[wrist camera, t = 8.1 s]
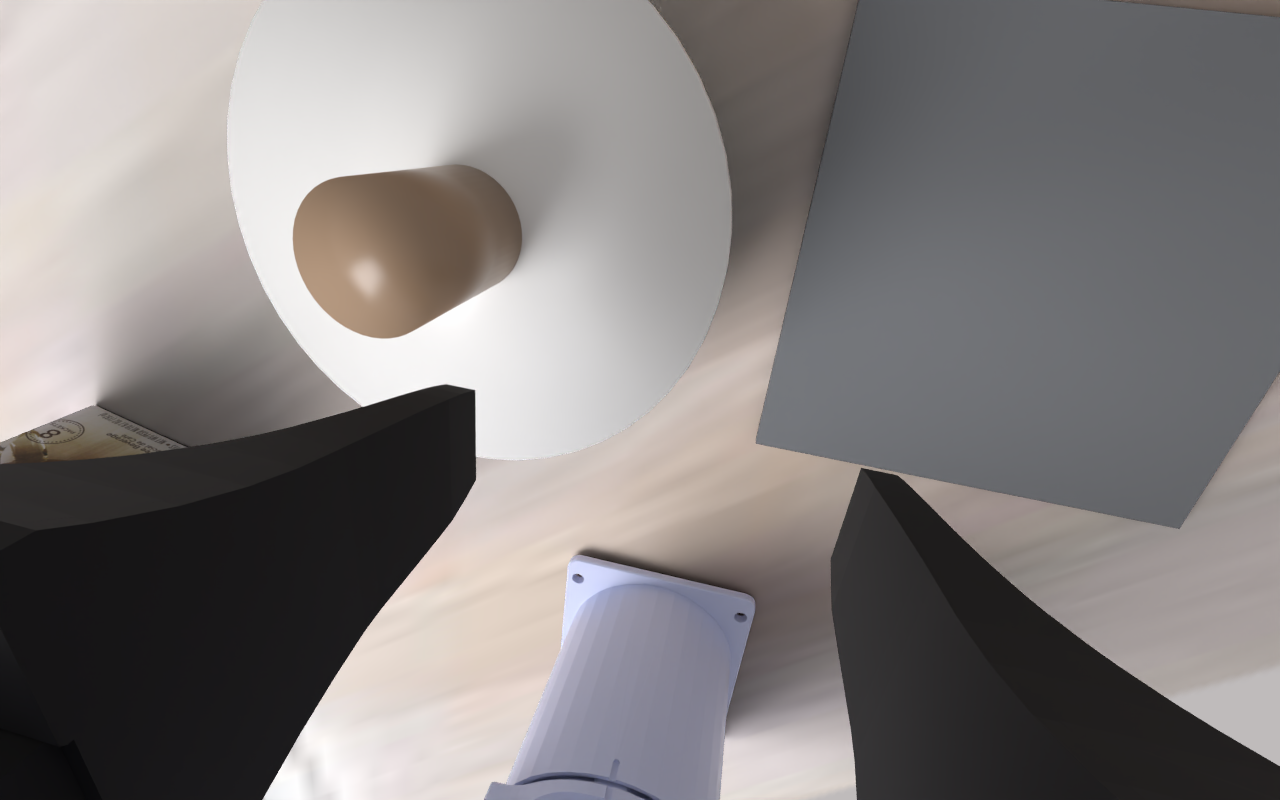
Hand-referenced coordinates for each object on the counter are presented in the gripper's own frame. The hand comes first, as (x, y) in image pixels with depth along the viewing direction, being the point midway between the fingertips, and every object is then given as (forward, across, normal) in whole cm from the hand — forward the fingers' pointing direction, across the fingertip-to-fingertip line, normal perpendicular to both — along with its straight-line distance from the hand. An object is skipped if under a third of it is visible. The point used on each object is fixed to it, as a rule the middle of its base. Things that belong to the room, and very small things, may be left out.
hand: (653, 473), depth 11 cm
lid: (+5, +6, -3) cm, 9 cm away
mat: (+10, -10, -3) cm, 14 cm away
